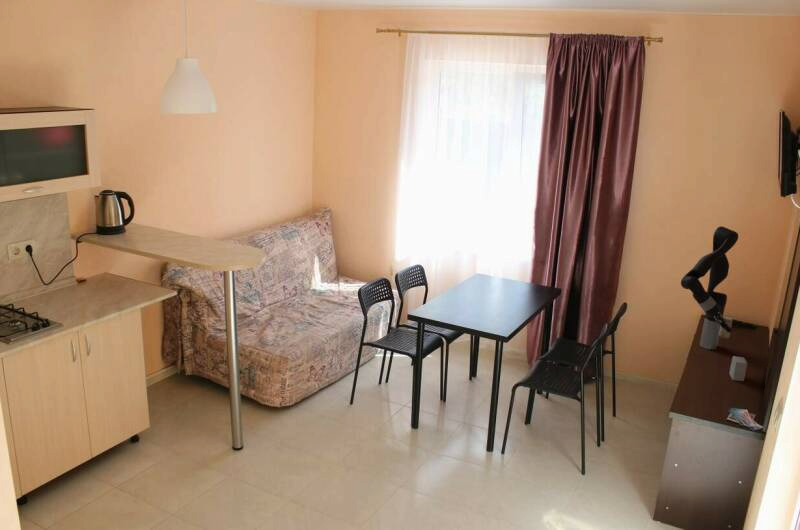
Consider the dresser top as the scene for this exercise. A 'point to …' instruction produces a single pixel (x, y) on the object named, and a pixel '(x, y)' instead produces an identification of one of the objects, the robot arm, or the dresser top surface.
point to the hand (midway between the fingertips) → (729, 329)
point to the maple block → (722, 331)
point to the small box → (738, 368)
